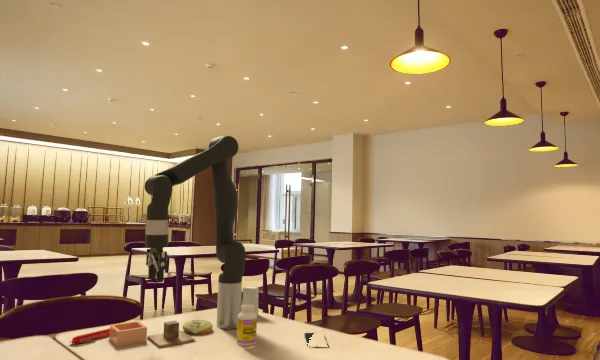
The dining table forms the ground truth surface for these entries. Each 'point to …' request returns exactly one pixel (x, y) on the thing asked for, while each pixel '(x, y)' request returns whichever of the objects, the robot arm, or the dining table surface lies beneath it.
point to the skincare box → (251, 297)
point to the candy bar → (91, 336)
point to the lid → (170, 336)
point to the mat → (167, 346)
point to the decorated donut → (197, 327)
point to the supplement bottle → (247, 325)
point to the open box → (128, 333)
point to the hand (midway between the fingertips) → (155, 280)
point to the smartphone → (307, 336)
